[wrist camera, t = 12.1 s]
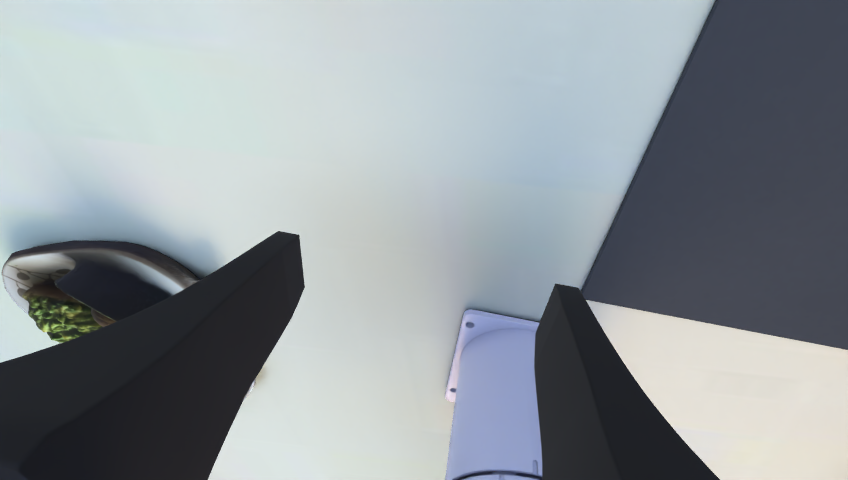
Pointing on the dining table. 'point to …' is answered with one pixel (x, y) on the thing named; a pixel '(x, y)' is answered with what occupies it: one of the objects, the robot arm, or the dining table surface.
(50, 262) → the salad plate
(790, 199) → the corner mat
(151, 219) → the dining table surface
